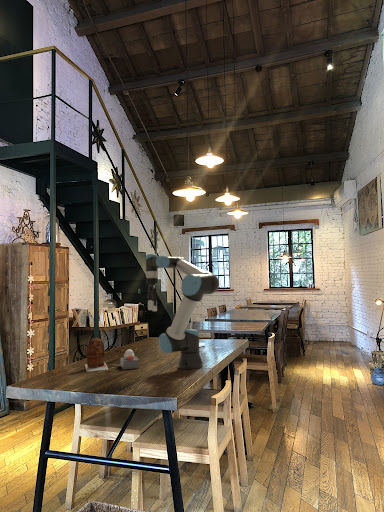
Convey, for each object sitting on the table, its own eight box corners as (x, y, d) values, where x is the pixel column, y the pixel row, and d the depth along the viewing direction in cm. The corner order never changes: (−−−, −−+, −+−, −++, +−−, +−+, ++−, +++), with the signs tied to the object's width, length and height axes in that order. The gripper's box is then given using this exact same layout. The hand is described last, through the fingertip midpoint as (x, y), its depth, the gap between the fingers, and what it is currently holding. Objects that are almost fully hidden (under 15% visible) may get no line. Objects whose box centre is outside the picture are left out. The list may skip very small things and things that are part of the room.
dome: (135, 358, 239) (135, 349, 239) (124, 359, 237) (124, 350, 237) (133, 356, 245) (133, 348, 245) (123, 357, 243) (123, 349, 243)
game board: (108, 369, 233) (108, 368, 233) (86, 371, 229) (86, 371, 229) (105, 362, 254) (105, 362, 254) (85, 364, 250) (85, 364, 250)
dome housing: (139, 367, 235) (139, 355, 236) (123, 369, 232) (123, 357, 232) (136, 364, 246) (135, 352, 247) (120, 365, 243) (120, 354, 244)
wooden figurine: (92, 368, 234) (92, 339, 236) (85, 368, 238) (85, 339, 239) (106, 365, 244) (106, 337, 246) (99, 364, 248) (99, 336, 249)
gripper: (142, 278, 257) (143, 309, 255) (150, 277, 233) (150, 312, 232) (153, 278, 259) (154, 309, 258) (161, 277, 236) (162, 311, 234)
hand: (152, 310), depth 245 cm, fingers open, 13 cm apart
